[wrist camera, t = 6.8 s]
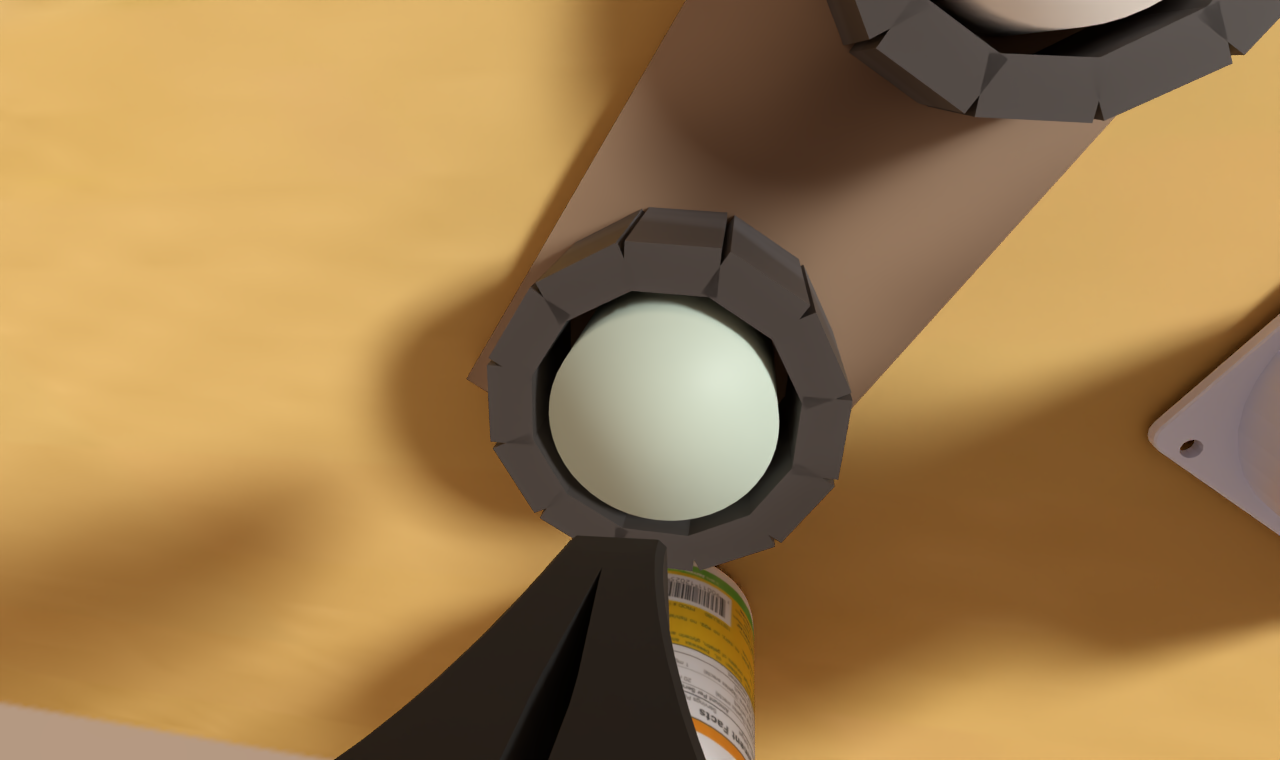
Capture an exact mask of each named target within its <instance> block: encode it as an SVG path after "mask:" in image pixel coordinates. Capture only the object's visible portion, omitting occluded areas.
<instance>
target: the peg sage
mask: <svg viewBox="0 0 1280 760" xmlns="http://www.w3.org/2000/svg"><path fill="white" fill-rule="evenodd" d="M549 421H550V428H551V433H552V437H553V440H554V443H555V446H556V448H557V451H558V453H559V455H560V457H561V459H562V460H563V462H564V464H565V465H566V467H567V468H568V470H569V471H570V472H571V474H572V475H573V476H574V477H575V478H576V479H577V481H578V482H579V483H580V484H581V485H582V486H583V487H584V488H586V489H587V490H588V491H589V492H590V493H591V494H593V495H594V496H596V497H597V498H598V499H600V500H601V501H603V502H605V503H606V504H608V505H610V506H612V507H614V508H616V509H618V510H621V511H623V512H626V513H628V514H632V515H635V516H638V517H642V518H648V519H654V520H666V521H675V520H688V519H694V518H699V517H703V516H706V515H710V514H712V513H715V512H717V511H720V510H722V509H724V508H726V507H728V506H730V505H731V504H733V503H735V502H736V501H738V500H739V499H740V498H742V497H743V496H744V495H746V494H747V493H748V492H749V491H750V490H751V489H752V488H753V487H754V486H755V485H756V484H757V482H758V481H759V480H760V478H761V477H762V476H763V475H764V473H765V471H766V469H767V468H768V466H769V464H770V462H771V460H772V457H773V455H774V452H775V449H776V444H777V440H778V433H779V414H778V401H777V388H776V375H775V363H774V351H773V345H772V340H771V339H770V338H769V337H767V336H766V335H764V334H763V333H761V332H760V331H758V330H757V329H755V328H754V327H752V326H751V325H749V324H748V323H746V322H745V321H743V320H742V319H740V318H739V317H737V316H736V315H734V314H733V313H731V312H730V311H728V310H727V309H725V308H724V307H722V306H721V305H719V304H718V303H716V302H715V301H713V300H712V299H710V298H709V297H700V296H688V295H676V294H664V293H652V292H640V291H630V292H628V293H626V294H624V295H622V296H619V297H617V298H615V299H613V300H611V301H609V302H607V303H604V304H602V305H600V306H599V307H598V308H597V310H596V311H595V313H594V314H593V316H592V317H591V319H590V321H589V322H588V324H587V325H586V327H585V328H584V330H583V331H582V333H581V335H580V336H579V338H578V339H577V341H576V342H575V344H574V346H573V347H572V349H571V350H570V352H569V353H568V355H567V357H566V358H565V360H564V361H563V363H562V365H561V367H560V369H559V370H558V372H557V374H556V377H555V380H554V383H553V385H552V390H551V395H550V400H549Z"/></svg>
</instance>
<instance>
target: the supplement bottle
mask: <svg viewBox="0 0 1280 760" xmlns="http://www.w3.org/2000/svg"><path fill="white" fill-rule="evenodd" d="M667 569H668V598H669V626H670V635H671V640H672V645H673V650H674V655H675V659H676V663H677V667H678V671H679V675H680V679H681V682H682V686H683V690H684V693H685V697H686V700H687V704H688V707H689V710H690V714H691V717H692V720H693V723H694V726H695V729H696V733H697V736H698V739H699V742H700V744H701V747H702V750H703V753H704V755H705V758H706V760H755V704H754V627H753V617H752V613H751V609H750V606H749V604H748V601H747V599H746V597H745V595H744V594H743V592H742V591H741V589H740V588H739V587H738V585H737V584H736V583H735V582H734V581H733V580H732V579H731V578H730V577H728V576H727V575H726V574H725V573H723V572H722V571H721V570H719V569H718V568H716V567H714V566H713V567H710V568H707V569H704V570H701V571H700V570H699V568H698V566H697V565H696V563H695V561H694V562H693V571H686V570H678V569H670V568H667Z"/></svg>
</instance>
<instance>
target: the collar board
mask: <svg viewBox="0 0 1280 760" xmlns="http://www.w3.org/2000/svg"><path fill="white" fill-rule="evenodd" d="M1279 18H1280V0H1161V1H1159V2H1158V3H1156V4H1154V5H1152V6H1150V7H1148V8H1146V9H1144V10H1141V11H1139V12H1137V13H1134V14H1132V15H1129V16H1127V17H1124V18H1121V19H1117V20H1114V21H1110V22H1107V23H1103V24H1098V25H1092V26H1086V27H1079V28H1071V29H1062V30H1054V31H1046V32H1037V33H1029V34H1021V35H1012V36H983V35H975V34H974V33H972V32H971V31H970V30H968V29H967V28H966V27H964V26H963V25H962V24H960V23H959V22H958V21H956V20H955V19H954V18H952V17H951V16H950V15H948V14H947V13H946V12H944V11H943V10H942V9H941V8H939V7H938V6H937V5H935V4H934V3H933V2H931V1H930V0H686V1H685V3H684V4H683V6H682V8H681V10H680V11H679V13H678V15H677V16H676V18H675V20H674V22H673V23H672V25H671V27H670V29H669V30H668V32H667V34H666V35H665V37H664V39H663V41H662V42H661V44H660V46H659V48H658V49H657V51H656V53H655V54H654V56H653V58H652V60H651V61H650V63H649V65H648V67H647V68H646V70H645V72H644V73H643V75H642V77H641V79H640V80H639V82H638V84H637V85H636V87H635V89H634V91H633V92H632V94H631V96H630V98H629V99H628V101H627V103H626V104H625V106H624V108H623V110H622V111H621V113H620V115H619V117H618V118H617V120H616V122H615V123H614V125H613V127H612V129H611V130H610V132H609V134H608V136H607V137H606V139H605V141H604V142H603V144H602V146H601V148H600V149H599V151H598V153H597V154H596V156H595V158H594V160H593V161H592V163H591V165H590V167H589V168H588V170H587V172H586V173H585V175H584V177H583V179H582V180H581V182H580V184H579V186H578V187H577V189H576V191H575V192H574V194H573V196H572V198H571V199H570V201H569V203H568V205H567V206H566V208H565V210H564V211H563V213H562V215H561V217H560V218H559V220H558V222H557V224H556V225H555V227H554V229H553V230H552V232H551V234H550V236H549V237H548V239H547V241H546V242H545V244H544V246H543V248H542V249H541V251H540V253H539V255H538V256H537V258H536V260H535V261H534V263H533V265H532V267H531V268H530V270H529V272H528V274H527V275H526V277H525V279H524V280H523V282H522V284H521V286H520V287H519V289H518V291H517V293H516V294H515V296H514V298H513V299H512V301H511V303H510V305H509V306H508V308H507V310H506V311H505V313H504V315H503V317H502V318H501V320H500V322H499V324H498V325H497V327H496V329H495V330H494V332H493V334H492V336H491V337H490V339H489V341H488V343H487V344H486V346H485V348H484V349H483V351H482V353H481V355H480V356H479V358H478V360H477V362H476V363H475V365H474V367H473V368H472V370H471V372H470V374H469V375H468V377H467V380H469V381H471V382H472V383H474V384H475V385H477V386H479V387H480V388H482V389H483V390H485V391H487V392H488V400H489V420H490V439H491V442H497V443H496V445H495V446H494V448H493V449H494V451H495V452H496V454H497V455H498V457H499V459H500V460H501V462H502V463H503V465H504V466H505V468H506V469H507V471H508V473H509V474H510V476H511V477H512V479H513V480H514V482H515V483H516V485H517V486H518V488H519V490H520V491H521V493H522V494H523V496H524V497H525V499H526V500H527V502H528V504H529V505H530V507H531V508H532V510H533V511H534V513H535V512H538V511H541V510H543V509H544V510H543V512H542V515H541V517H540V518H541V519H542V520H544V521H546V522H547V523H549V524H550V525H552V526H554V527H555V528H557V529H559V530H560V531H562V532H564V533H565V534H567V535H568V536H570V537H572V538H574V537H575V536H576V535H579V536H598V537H617V538H637V539H656V540H660V541H661V542H662V543H663V544H664V545H665V546H666V547H667V568H670V569H678V570H686V571H693V562H694V561H695V563H696V565H697V566H698V568H699V570H700V571H701V570H704V569H707V568H710V567H713V566H716V565H719V564H722V563H725V562H729V561H732V560H735V559H738V558H741V557H744V556H747V555H750V554H754V553H757V552H760V551H763V550H766V549H769V548H772V547H775V542H774V539H776V540H778V541H779V542H782V541H783V540H784V539H785V538H786V537H787V536H788V535H789V534H790V533H791V532H792V531H793V530H794V529H795V528H796V527H797V526H798V525H799V523H800V522H801V521H802V520H803V519H804V518H805V517H806V516H807V515H808V514H809V513H810V512H811V511H812V510H813V509H814V508H815V507H816V506H817V504H818V503H819V502H820V501H821V500H822V499H823V498H824V497H825V496H826V495H827V494H828V493H829V492H830V491H831V490H832V489H833V488H834V487H835V486H834V481H833V479H836V480H838V478H839V472H840V467H841V462H842V456H843V451H844V445H845V440H846V434H847V429H848V424H849V418H850V413H851V409H852V407H853V406H854V405H855V404H856V403H857V402H858V401H859V400H860V399H861V397H862V396H863V395H864V394H865V393H866V392H867V391H868V390H869V389H870V387H871V386H872V385H873V384H874V383H875V382H876V381H877V380H878V379H879V378H880V376H881V375H882V374H883V373H884V372H885V371H886V370H887V369H888V368H889V366H890V365H891V364H892V363H893V362H894V361H895V360H896V359H897V358H898V356H899V355H900V354H901V353H902V352H903V351H904V350H905V349H906V348H907V347H908V345H909V344H910V343H911V342H912V341H913V340H914V339H915V338H916V337H917V335H918V334H919V333H920V332H921V331H922V330H923V329H924V328H925V327H926V326H927V324H928V323H929V322H930V321H931V320H932V319H933V318H934V317H935V316H936V314H937V313H938V312H939V311H940V310H941V309H942V308H943V307H944V306H945V304H946V303H947V302H948V301H949V300H950V299H951V298H952V297H953V296H954V295H955V293H956V292H957V291H958V290H959V289H960V288H961V287H962V286H963V285H964V283H965V282H966V281H967V280H968V279H969V278H970V277H971V276H972V275H973V273H974V272H975V271H976V270H977V269H978V268H979V267H980V266H981V265H982V264H983V262H984V261H985V260H986V259H987V258H988V257H989V256H990V255H991V254H992V252H993V251H994V250H995V249H996V248H997V247H998V246H999V245H1000V244H1001V242H1002V241H1003V240H1004V239H1005V238H1006V237H1007V236H1008V235H1009V234H1010V233H1011V231H1012V230H1013V229H1014V228H1015V227H1016V226H1017V225H1018V224H1019V223H1020V221H1021V220H1022V219H1023V218H1024V217H1025V216H1026V215H1027V214H1028V213H1029V212H1030V210H1031V209H1032V208H1033V207H1034V206H1035V205H1036V204H1037V203H1038V202H1039V200H1040V199H1041V198H1042V197H1043V196H1044V195H1045V194H1046V193H1047V192H1048V190H1049V189H1050V188H1051V187H1052V186H1053V185H1054V184H1055V183H1056V182H1057V181H1058V179H1059V178H1060V177H1061V176H1062V175H1063V174H1064V173H1065V172H1066V171H1067V169H1068V168H1069V167H1070V166H1071V165H1072V164H1073V163H1074V162H1075V161H1076V159H1077V158H1078V157H1079V156H1080V155H1081V154H1082V153H1083V152H1084V151H1085V150H1086V148H1087V147H1088V146H1089V145H1090V144H1091V143H1092V142H1093V141H1094V140H1095V138H1096V137H1097V136H1098V135H1099V134H1100V133H1101V132H1102V131H1103V130H1104V128H1105V127H1106V126H1107V125H1108V124H1109V123H1110V122H1111V121H1112V120H1113V119H1114V117H1115V116H1116V115H1118V114H1121V113H1123V112H1125V111H1127V110H1130V109H1132V108H1134V107H1136V106H1139V105H1141V104H1143V103H1145V102H1147V101H1150V100H1152V99H1154V98H1156V97H1159V96H1161V95H1163V94H1165V93H1168V92H1170V91H1172V90H1174V89H1176V88H1179V87H1181V86H1183V85H1185V84H1188V83H1190V82H1192V81H1194V80H1196V79H1199V78H1201V77H1203V76H1205V75H1208V74H1210V73H1212V72H1214V71H1217V70H1219V69H1221V68H1223V67H1225V66H1228V65H1230V64H1232V59H1231V55H1245V54H1246V53H1247V52H1248V51H1249V50H1250V48H1251V47H1252V46H1253V45H1254V44H1255V43H1256V42H1257V41H1258V40H1259V39H1260V38H1261V37H1262V36H1263V35H1264V34H1265V33H1266V32H1267V31H1268V30H1269V28H1270V27H1271V26H1272V25H1273V24H1274V23H1275V22H1276V21H1277V20H1278V19H1279ZM630 291H640V292H652V293H664V294H676V295H688V296H700V297H709V298H710V299H712V300H713V301H715V302H716V303H718V304H719V305H721V306H722V307H724V308H725V309H727V310H728V311H730V312H731V313H733V314H734V315H736V316H737V317H739V318H740V319H742V320H743V321H745V322H746V323H748V324H749V325H751V326H752V327H754V328H755V329H757V330H758V331H760V332H761V333H763V334H764V335H766V336H767V337H769V338H770V339H771V340H772V345H773V351H774V363H775V375H776V388H777V401H778V414H779V433H778V440H777V444H776V449H775V452H774V455H773V457H772V460H771V462H770V464H769V466H768V468H767V469H766V471H765V473H764V475H763V476H762V477H761V478H760V480H759V481H758V482H757V484H756V485H755V486H754V487H753V488H752V489H751V490H750V491H749V492H748V493H747V494H746V495H744V496H743V497H742V498H740V499H739V500H738V501H736V502H735V503H733V504H731V505H730V506H728V507H726V508H724V509H722V510H720V511H717V512H715V513H712V514H710V515H706V516H703V517H699V518H694V519H688V520H675V521H666V520H654V519H648V518H642V517H638V516H635V515H632V514H628V513H626V512H623V511H621V510H618V509H616V508H614V507H612V506H610V505H608V504H606V503H605V502H603V501H601V500H600V499H598V498H597V497H596V496H594V495H593V494H591V493H590V492H589V491H588V490H587V489H586V488H584V487H583V486H582V485H581V484H580V483H579V482H578V481H577V479H576V478H575V477H574V476H573V475H572V474H571V472H570V471H569V470H568V468H567V467H566V465H565V464H564V462H563V460H562V459H561V457H560V455H559V453H558V451H557V448H556V446H555V443H554V440H553V437H552V433H551V428H550V421H549V400H550V395H551V390H552V385H553V383H554V380H555V377H556V374H557V372H558V370H559V369H560V367H561V365H562V363H563V361H564V360H565V358H566V357H567V355H568V353H569V352H570V350H571V349H572V347H573V346H574V344H575V342H576V341H577V339H578V338H579V336H580V335H581V333H582V331H583V330H584V328H585V327H586V325H587V324H588V322H589V321H590V319H591V317H592V316H593V314H594V313H595V311H596V310H597V308H598V307H599V306H600V305H602V304H604V303H607V302H609V301H611V300H613V299H615V298H617V297H619V296H622V295H624V294H626V293H628V292H630Z"/></svg>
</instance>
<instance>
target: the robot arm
mask: <svg viewBox="0 0 1280 760" xmlns="http://www.w3.org/2000/svg"><path fill="white" fill-rule="evenodd" d="M1147 435H1148V440H1149V442H1150V443H1151V444H1152V445H1153V446H1154V447H1155V448H1156V449H1157V450H1158V451H1159V452H1161V453H1162V454H1164V455H1165V456H1166V457H1168V458H1169V459H1171V460H1172V461H1174V462H1175V463H1176V464H1178V465H1179V466H1181V467H1182V468H1184V469H1185V470H1187V471H1188V472H1189V473H1191V474H1192V475H1194V476H1195V477H1197V478H1198V479H1199V480H1201V481H1202V482H1204V483H1205V484H1207V485H1208V486H1209V487H1211V488H1212V489H1214V490H1215V491H1217V492H1218V493H1219V494H1221V495H1222V496H1224V497H1225V498H1227V499H1228V500H1229V501H1231V502H1232V503H1234V504H1235V505H1237V506H1238V507H1239V508H1241V509H1242V510H1244V511H1245V512H1247V513H1248V514H1250V515H1251V516H1252V517H1254V518H1255V519H1257V520H1258V521H1260V522H1261V523H1262V524H1264V525H1265V526H1267V527H1268V528H1270V529H1271V530H1272V531H1274V532H1275V533H1277V534H1278V535H1280V314H1279V315H1278V316H1277V317H1275V318H1274V319H1273V320H1272V321H1271V322H1270V323H1268V324H1267V325H1266V326H1265V327H1264V328H1263V329H1261V330H1260V331H1259V332H1258V333H1257V334H1256V335H1255V336H1253V337H1252V338H1251V339H1250V340H1249V341H1248V342H1246V343H1245V344H1244V345H1243V346H1242V347H1241V348H1239V349H1238V350H1237V351H1236V352H1235V353H1234V354H1232V355H1231V356H1230V357H1229V358H1228V359H1227V360H1226V361H1224V362H1223V363H1222V364H1221V365H1220V366H1219V367H1217V368H1216V369H1215V370H1214V371H1213V372H1212V373H1210V374H1209V375H1208V376H1207V377H1206V378H1205V379H1203V380H1202V381H1201V382H1200V383H1199V384H1198V385H1197V386H1195V387H1194V388H1193V389H1192V390H1191V391H1190V392H1188V393H1187V394H1186V395H1185V396H1184V397H1183V398H1181V399H1180V400H1179V401H1178V402H1177V403H1176V404H1174V405H1173V406H1172V407H1171V408H1170V409H1169V410H1168V411H1166V412H1165V413H1164V414H1163V415H1162V416H1161V417H1159V418H1158V419H1157V420H1156V421H1155V422H1154V423H1153V424H1152V425H1151V427H1150V428H1149V431H1148V434H1147ZM1189 440H1194V443H1193V445H1192V446H1191V447H1190V448H1188V449H1186V450H1180V447H1181V446H1182V445H1183V443H1185V442H1187V441H1189ZM335 760H706V758H705V755H704V753H703V750H702V747H701V744H700V742H699V739H698V736H697V733H696V729H695V726H694V723H693V720H692V717H691V714H690V710H689V707H688V704H687V700H686V697H685V693H684V690H683V686H682V682H681V679H680V675H679V671H678V667H677V663H676V659H675V655H674V650H673V645H672V640H671V635H670V626H669V598H668V569H667V547H666V546H665V545H664V544H663V543H662V542H661V541H660V540H656V539H637V538H617V537H598V536H579V535H576V536H575V537H574V538H573V539H572V540H571V541H569V542H568V544H567V545H566V546H565V547H564V548H563V549H562V550H561V552H560V553H559V554H558V555H557V556H556V557H555V558H554V559H553V561H552V562H551V563H550V564H549V565H548V566H547V567H546V569H545V570H544V571H543V572H542V573H541V574H540V575H539V576H538V577H537V579H536V580H535V581H534V582H533V583H532V584H531V585H530V586H529V587H528V588H527V590H526V591H525V592H524V593H523V594H522V595H521V596H520V597H519V598H518V599H517V600H516V601H515V602H514V603H513V604H512V605H511V607H510V608H509V609H508V610H507V611H506V612H505V613H504V614H503V615H502V616H501V617H500V618H499V619H498V620H497V621H496V622H495V623H494V624H493V625H492V626H491V627H490V628H489V629H488V630H487V631H486V632H485V633H484V634H483V635H482V636H481V637H480V638H479V639H478V640H477V641H476V642H475V643H474V644H473V645H472V646H471V647H470V648H469V649H468V650H467V651H465V652H464V653H463V654H462V655H461V656H460V657H459V658H458V659H457V660H456V661H455V662H454V663H453V664H452V665H451V666H450V667H448V668H447V669H446V670H445V671H444V672H443V673H442V674H441V675H440V676H439V677H438V678H437V679H435V680H434V681H433V682H432V683H431V684H430V685H429V686H428V687H426V688H425V689H424V690H423V691H422V692H421V693H419V694H418V695H417V696H416V697H415V698H414V699H412V700H411V701H410V702H409V703H408V704H406V705H405V706H404V707H403V708H402V709H401V710H399V711H398V712H397V713H396V714H394V715H393V716H392V717H391V718H389V719H388V720H387V721H386V722H384V723H383V724H382V725H381V726H379V727H378V728H377V729H376V730H374V731H373V732H372V733H370V734H369V735H368V736H367V737H365V738H364V739H363V740H361V741H360V742H358V743H357V744H356V745H354V746H353V747H352V748H350V749H349V750H347V751H346V752H345V753H343V754H342V755H340V756H339V757H337V758H336V759H335Z"/></svg>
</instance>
